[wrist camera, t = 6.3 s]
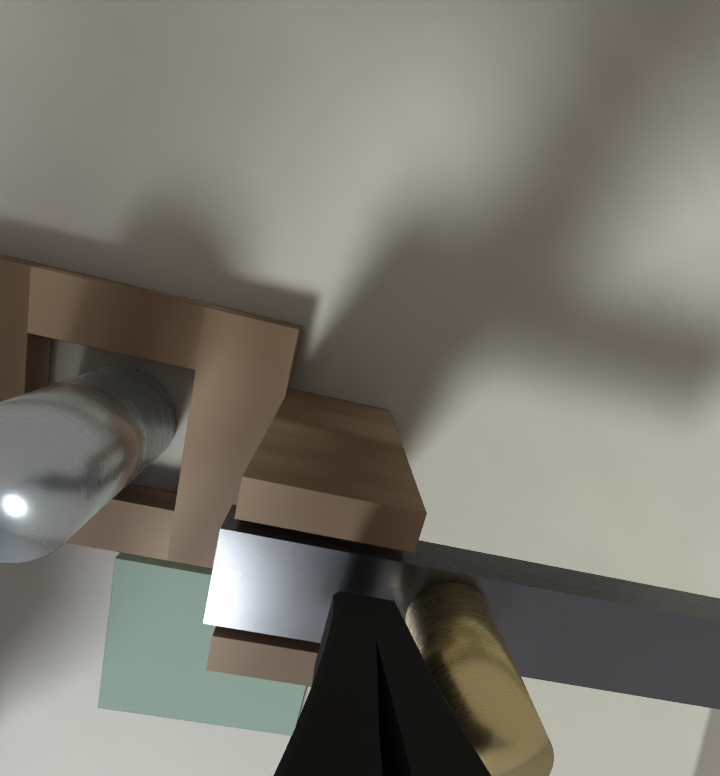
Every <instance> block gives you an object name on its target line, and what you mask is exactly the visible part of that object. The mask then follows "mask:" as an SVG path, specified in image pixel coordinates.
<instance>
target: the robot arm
mask: <svg viewBox="0 0 720 776" xmlns="http://www.w3.org/2000/svg"><path fill="white" fill-rule="evenodd" d="M274 776H491V774H490V773H489V771H488V769H487V768H486V766H485V765H484V763H483V761H482V760H481V758H480V756H479V755H478V753H477V752H476V750H475V748H474V747H473V745H472V743H471V742H470V740H469V739H468V737H467V735H466V734H465V732H464V730H463V729H462V727H461V725H460V723H459V722H458V720H457V718H456V717H455V715H454V713H453V711H452V710H451V708H450V706H449V704H448V702H447V701H446V699H445V697H444V695H443V693H442V692H441V690H440V688H439V686H438V685H437V683H436V681H435V679H434V677H433V675H432V674H431V672H430V670H429V668H428V666H427V664H426V662H425V660H424V658H423V656H422V654H421V653H420V651H419V649H418V647H417V645H416V643H415V641H414V639H413V637H412V635H411V633H410V631H409V629H408V627H407V625H406V623H405V621H404V619H403V617H402V614H401V612H400V610H399V608H398V606H397V605H396V603H395V601H393V600H387V599H382V598H376V597H370V596H365V595H359V594H354V593H348V592H342V591H339V592H337V593H336V594H334V595H333V598H332V601H331V605H330V609H329V613H328V617H327V620H326V624H325V628H324V632H323V635H322V639H321V643H320V647H319V651H318V654H317V658H316V662H315V667H314V674H313V681H312V687H311V690H310V692H309V695H308V697H307V700H306V702H305V705H304V707H303V710H302V712H301V714H300V717H299V719H298V722H297V724H296V727H295V729H294V732H293V734H292V736H291V739H290V741H289V743H288V745H287V748H286V750H285V752H284V754H283V757H282V759H281V761H280V763H279V765H278V767H277V770H276V772H275V774H274Z"/></svg>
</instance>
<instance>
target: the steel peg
mask: <svg viewBox="0 0 720 776" xmlns="http://www.w3.org/2000/svg"><path fill="white" fill-rule="evenodd" d="M175 429H176V413H175V408H174V405H173V403H172V400H171V398H170V396H169V395H168V393H167V392H166V390H165V389H164V388H163V387H162V386H161V385H160V384H159V383H158V382H157V381H156V380H155V379H154V378H152V377H151V376H149V375H148V374H146V373H144V372H142V371H140V370H137V369H134V368H131V367H125V366H107V367H103V368H99V369H96V370H93V371H91V372H88V373H85V374H82V375H79V376H76V377H73V378H70V379H67V380H64V381H61V382H58V383H55V384H52V385H49V386H46V387H43V388H40V389H37V390H34V391H31V392H29V393H26V394H23V395H20V396H17V397H14V398H11V399H8V400H5V401H2V402H0V563H21V562H28V561H32V560H36V559H39V558H41V557H44V556H46V555H48V554H50V553H52V552H53V551H55V550H56V549H57V548H59V547H60V546H61V545H62V544H63V543H64V542H66V541H67V540H68V539H69V538H70V537H71V536H72V535H73V534H74V533H75V532H76V531H78V530H79V529H80V528H81V527H82V526H83V525H84V524H85V523H86V522H87V521H88V520H90V519H91V518H92V517H93V516H94V515H95V514H96V513H97V512H98V511H99V510H100V509H101V508H103V507H104V506H105V505H106V504H107V503H108V502H109V501H110V500H111V499H112V498H113V497H115V496H116V495H117V494H118V493H119V492H120V491H121V490H122V489H123V488H124V487H125V486H127V485H128V484H129V483H130V482H131V481H132V480H133V479H134V478H135V477H136V476H137V475H139V474H140V473H141V472H142V471H143V470H144V469H145V468H146V467H147V466H148V465H149V464H151V463H152V462H153V461H154V460H155V459H156V458H157V457H158V456H159V455H160V454H161V453H162V452H163V451H165V450H166V448H167V447H168V446H169V444H170V443H171V441H172V439H173V436H174V434H175Z"/></svg>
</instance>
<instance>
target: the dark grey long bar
mask: <svg viewBox="0 0 720 776" xmlns="http://www.w3.org/2000/svg"><path fill="white" fill-rule="evenodd" d="M236 507H237V505H233V504H232V506H231V508H230V510H229V512H228V514H227V516H226V518H225V520H224V522H223V524H222V526H221V528H220V532H219V538H218V543H217V549H216V554H215V560H214V565H213V571H212V576H211V582H210V587H209V593H208V598H207V604H206V609H205V615H204V620H203V624H209V625H215V626H221V627H227V628H233V629H239V630H245V631H251V632H257V633H263V634H269V635H275V636H281V637H287V638H293V639H299V640H305V641H311V642H317V643H321V639H322V635H323V632H324V628H325V624H326V620H327V617H328V613H329V609H330V605H331V601H332V598H333V595H334V594H336V593H337V592H339V591H342V592H348V593H354V594H359V595H365V596H370V597H376V598H382V599H387V600H393V601H395V603H396V605H397V606H398V608H399V610H400V612H401V614H402V617H403V619H404V621H405V623H406V625H407V627H408V629H409V631H410V633H411V635H412V637H413V639H414V641H415V643H416V645H417V647H418V649H419V651H420V653H421V654H422V656H423V658H424V660H425V662H426V664H427V666H428V668H429V670H430V672H431V674H432V675H433V677H434V679H435V681H436V683H437V685H438V686H439V688H440V690H441V692H442V693H443V695H444V697H445V699H446V701H447V702H448V704H449V706H450V708H451V710H452V711H453V713H454V715H455V717H456V718H457V720H458V722H459V723H460V725H461V727H462V729H463V730H464V732H465V734H466V735H467V737H468V739H469V740H470V742H471V743H472V745H473V747H474V748H475V750H476V752H477V753H478V755H479V756H480V758H481V760H482V761H483V763H484V765H485V766H486V768H487V769H488V771H489V773H490V774H491V776H549V774H550V772H551V770H552V767H553V762H554V753H553V748H552V745H551V742H550V740H549V738H548V736H547V734H546V731H545V729H544V727H543V725H542V722H541V720H540V718H539V716H538V714H537V711H536V709H535V707H534V705H533V702H532V700H531V698H530V696H529V694H528V691H527V689H526V687H525V685H524V682H523V680H522V678H521V676H522V677H528V678H534V679H540V680H546V681H552V682H558V683H564V684H570V685H576V686H582V687H588V688H594V689H600V690H606V691H612V692H618V693H624V694H630V695H636V696H642V697H648V698H654V699H660V700H666V701H672V702H679V703H685V704H691V705H697V706H703V707H709V708H715V709H720V599H719V598H714V597H709V596H703V595H698V594H693V593H688V592H683V591H678V590H672V589H667V588H662V587H657V586H652V585H647V584H641V583H636V582H631V581H626V580H621V579H616V578H610V577H605V576H600V575H595V574H590V573H585V572H579V571H574V570H569V569H564V568H559V567H554V566H548V565H543V564H538V563H533V562H528V561H523V560H517V559H512V558H507V557H502V556H497V555H492V554H486V553H481V552H476V551H471V550H466V549H461V548H455V547H450V546H445V545H440V544H435V543H430V542H424V541H419V540H418V543H417V546H416V549H415V553H413V552H407V551H402V550H397V549H392V548H386V547H381V546H376V545H371V544H365V543H360V542H355V541H350V540H344V539H339V538H334V537H329V536H323V535H318V534H313V533H308V532H302V531H297V530H292V529H287V528H281V527H276V526H271V525H266V524H260V523H255V522H250V521H245V520H239V519H234V518H235V513H236Z"/></svg>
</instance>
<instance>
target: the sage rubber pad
mask: <svg viewBox="0 0 720 776" xmlns="http://www.w3.org/2000/svg"><path fill="white" fill-rule="evenodd" d="M212 571H213V569H212V568H206V567H201V566H195V565H190V564H184V563H178V562H173V561H167V560H162V559H156V558H150V557H145V556H139V555H134V554H128V553H122V552H120V553H119V554H118V556H117V557H116V558H115V565H114V574H113V582H112V591H111V599H110V608H109V617H108V625H107V634H106V642H105V651H104V660H103V668H102V677H101V685H100V694H99V703H98V708H102V709H109V710H116V711H123V712H130V713H137V714H144V715H151V716H158V717H165V718H171V719H178V720H185V721H192V722H199V723H206V724H213V725H220V726H227V727H234V728H241V729H248V730H255V731H262V732H269V733H276V734H282V735H289V736H292V734H293V732H294V729H295V727H296V723H297V719H298V715H299V711H300V708H301V704H302V700H303V696H304V692H305V688H306V686H304V685H297V684H291V683H284V682H278V681H272V680H265V679H259V678H252V677H246V676H239V675H233V674H227V673H220V672H214V671H207V670H206V666H207V661H208V656H209V650H210V645H211V640H212V635H213V633H214V630H215V627H216V626H215V625H209V624H203V620H204V615H205V609H206V604H207V598H208V593H209V587H210V582H211V576H212Z"/></svg>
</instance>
